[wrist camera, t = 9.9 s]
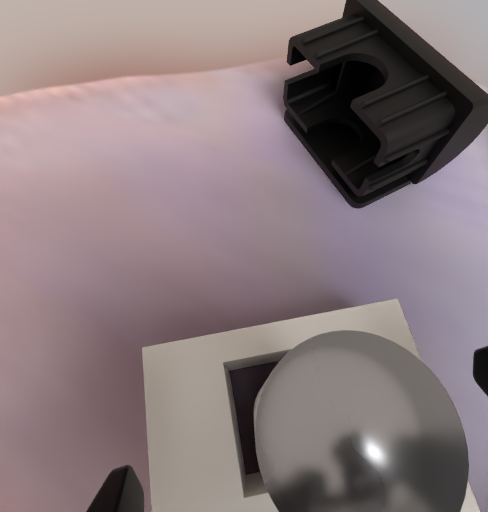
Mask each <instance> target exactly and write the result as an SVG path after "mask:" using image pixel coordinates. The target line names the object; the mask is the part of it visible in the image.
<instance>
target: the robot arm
mask: <svg viewBox="0 0 488 512" xmlns="http://www.w3.org/2000/svg"><path fill="white" fill-rule="evenodd" d="M473 377H474V379H475V381H476V383H477V384H478V385H479V387H480V388H481V389H482V390H483V391H484V392H485V394H486V395H487V396H488V346H486V347H483V348H480V349H477V350H475V352H474V357H473ZM86 512H144V494H143V489H142V486H141V484H140V482H139V480H138V478H137V476H136V474H135V472H134V470H133V468H132V467H131V466H130V465H126V466H123V467H120V468H116V469H114V470H112V471H111V472H110V474H109V475H108V477H107V479H106V480H105V482H104V483H103V485H102V487H101V488H100V490H99V492H98V493H97V495H96V497H95V498H94V500H93V502H92V503H91V505H90V506H89V508H88V510H87V511H86Z"/></svg>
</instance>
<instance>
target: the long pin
mask: <svg viewBox="0 0 488 512" xmlns="http://www.w3.org/2000/svg"><path fill="white" fill-rule="evenodd" d="M253 413H254V432H255V445H256V454H257V459H258V464H259V469H260V472H261V475H262V478H263V481H264V484H265V487H266V489H267V491H268V493H269V495H270V498H271V500H272V501H273V503H274V505H275V506H276V508H277V510H278V511H279V512H460V511H461V508H462V505H463V502H464V499H465V495H466V489H467V483H468V469H469V463H468V450H467V444H466V439H465V434H464V430H463V427H462V424H461V421H460V418H459V415H458V413H457V411H456V408H455V406H454V404H453V402H452V400H451V398H450V397H449V395H448V393H447V391H446V390H445V388H444V387H443V385H442V384H441V383H440V381H439V380H438V378H437V377H436V376H435V375H434V374H433V373H432V371H431V370H430V369H429V368H428V367H427V366H426V365H425V364H424V363H423V362H422V361H421V360H420V359H418V358H417V357H416V356H415V355H413V354H412V353H411V352H409V351H408V350H407V349H405V348H404V347H402V346H400V345H398V344H397V343H395V342H393V341H391V340H388V339H386V338H384V337H382V336H378V335H375V334H372V333H368V332H362V331H354V330H340V331H331V332H327V333H322V334H319V335H316V336H314V337H311V338H309V339H307V340H305V341H303V342H302V343H300V344H298V345H297V346H296V347H294V348H293V349H292V350H290V351H289V352H288V353H287V354H286V355H285V356H284V357H283V358H282V359H281V360H280V361H279V363H278V364H277V365H276V366H275V368H274V369H273V370H272V372H271V374H270V375H269V377H268V378H267V380H266V381H265V383H264V384H263V386H262V388H261V389H260V391H259V392H258V394H257V396H256V398H255V402H254V408H253Z"/></svg>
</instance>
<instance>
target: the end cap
mask: <svg viewBox="0 0 488 512" xmlns="http://www.w3.org/2000/svg"><path fill="white" fill-rule="evenodd" d="M306 59H307V60H308V61H309V62H310V63H311V65H312V66H313V67H314V68H315V69H313V70H311V71H308V72H306V73H303V74H301V75H298V76H296V77H293V78H291V79H288V80H286V81H285V85H284V95H283V99H284V103H285V106H286V108H287V110H286V112H285V117H284V119H285V122H286V123H287V125H288V126H289V127H290V129H291V130H292V131H293V132H294V134H295V135H296V136H297V138H298V139H299V140H300V141H301V143H302V144H303V145H304V147H305V148H306V149H307V150H308V152H309V153H310V154H311V156H312V157H313V158H314V159H315V161H316V162H317V163H318V165H319V166H320V167H321V168H322V170H323V171H324V172H325V174H326V175H327V176H328V177H329V179H330V180H331V181H332V183H333V184H334V185H335V186H336V188H337V189H338V190H339V192H340V193H341V194H342V195H343V197H344V198H345V199H346V201H347V202H348V203H349V204H350V205H351V206H352V207H354V208H362V207H365V206H367V205H369V204H371V203H373V202H375V201H377V200H379V199H381V198H383V197H385V196H387V195H389V194H391V193H393V192H395V191H397V190H399V189H401V188H403V187H405V186H406V185H408V184H410V183H411V182H412V183H413V184H417V183H419V182H421V181H423V180H425V179H426V178H428V177H429V176H431V175H433V174H434V173H436V172H437V171H438V170H440V169H441V168H443V167H444V166H445V165H447V164H448V163H449V162H450V161H452V160H453V159H454V158H455V157H456V156H458V155H459V154H460V153H461V152H462V151H463V150H464V149H465V148H467V147H468V146H469V145H470V144H471V143H472V142H473V141H474V140H475V138H476V137H477V136H478V135H479V134H480V133H481V132H482V130H483V129H484V128H485V127H486V125H487V124H488V94H487V93H486V92H485V91H484V90H482V89H481V88H480V87H479V86H478V85H476V84H475V83H474V82H473V81H472V80H471V79H469V78H468V77H467V76H466V75H465V74H464V73H462V72H461V71H460V70H459V69H458V68H457V67H455V66H454V65H453V64H452V63H450V62H449V61H448V60H447V59H446V58H445V57H444V56H442V55H441V54H440V53H439V52H438V51H436V50H435V49H434V48H433V47H432V46H431V45H429V44H428V43H427V42H426V41H425V40H424V39H422V38H421V37H420V36H419V35H418V34H417V33H415V32H414V31H413V30H412V29H411V28H410V27H408V26H407V25H406V24H405V23H404V22H402V21H401V20H400V19H399V18H398V17H397V16H395V15H394V14H393V13H392V12H391V11H389V10H388V9H387V8H386V7H385V6H384V5H382V4H381V3H380V2H379V1H378V0H346V4H345V8H344V12H343V17H342V18H341V19H338V20H336V21H333V22H330V23H328V24H325V25H322V26H320V27H317V28H315V29H312V30H309V31H307V32H304V33H301V34H298V35H296V36H293V37H291V38H290V40H289V45H288V55H287V63H288V64H289V65H290V66H291V65H294V64H296V63H299V62H301V61H304V60H306Z"/></svg>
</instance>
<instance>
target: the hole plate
mask: <svg viewBox="0 0 488 512" xmlns="http://www.w3.org/2000/svg"><path fill="white" fill-rule="evenodd" d="M340 330H354V331H362V332H368V333H372V334H375V335H378V336H382V337H384V338H386V339H388V340H391V341H393V342H395V343H397V344H398V345H400V346H402V347H404V348H405V349H407V350H408V351H409V352H411V353H412V354H413V355H415V356H416V357H417V358H418V359H420V360H421V358H420V355H419V353H418V350H417V347H416V345H415V342H414V340H413V337H412V334H411V332H410V329H409V327H408V324H407V322H406V319H405V316H404V314H403V311H402V309H401V306H400V304H399V301H398V299H392V300H387V301H382V302H377V303H371V304H366V305H361V306H356V307H351V308H345V309H340V310H335V311H330V312H324V313H319V314H314V315H309V316H304V317H298V318H293V319H288V320H283V321H277V322H272V323H267V324H262V325H257V326H251V327H246V328H241V329H236V330H230V331H225V332H220V333H215V334H210V335H204V336H199V337H194V338H189V339H184V340H178V341H173V342H168V343H163V344H157V345H152V346H147V347H142V357H143V374H144V391H145V408H146V425H147V441H148V458H149V475H150V492H151V509H152V512H279V511H278V510H277V508H276V506H275V505H274V503H273V501H272V500H271V498H270V495H269V493H268V491H267V489H266V487H265V484H264V481H263V478H262V475H261V472H256V473H252V474H247V475H246V472H245V465H244V459H243V453H242V447H241V440H240V434H239V428H238V422H237V415H236V409H235V403H234V396H233V390H232V384H231V378H230V370H235V369H240V368H245V367H250V366H255V365H261V364H266V363H271V362H276V361H280V360H281V359H282V358H283V357H284V356H285V355H286V354H287V353H288V352H289V351H290V350H292V349H293V348H294V347H296V346H297V345H298V344H300V343H302V342H303V341H305V340H307V339H309V338H311V337H314V336H316V335H319V334H322V333H327V332H331V331H340ZM421 361H422V360H421ZM460 512H480V510H479V507H478V505H477V502H476V500H475V497H474V495H473V492H472V489H471V487H470V484H469V482H468V483H467V489H466V495H465V499H464V502H463V505H462V508H461V511H460Z"/></svg>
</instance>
